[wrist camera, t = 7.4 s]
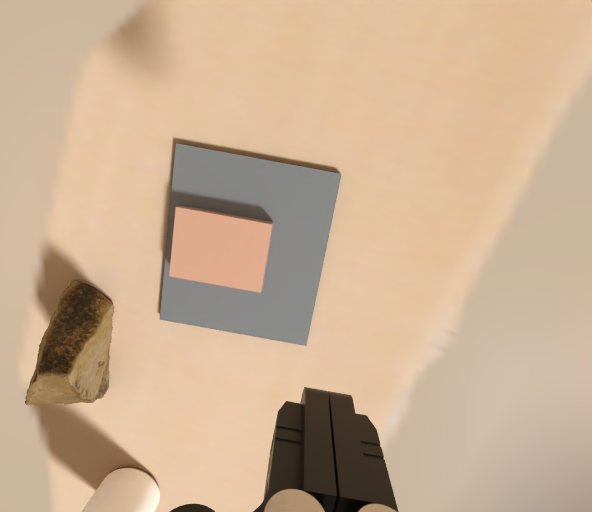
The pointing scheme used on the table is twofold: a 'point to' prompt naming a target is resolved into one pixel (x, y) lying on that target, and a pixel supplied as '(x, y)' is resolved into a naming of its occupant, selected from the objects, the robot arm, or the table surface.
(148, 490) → the can
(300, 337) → the mat
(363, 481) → the robot arm
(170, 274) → the tile
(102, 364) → the rock
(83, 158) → the table surface
